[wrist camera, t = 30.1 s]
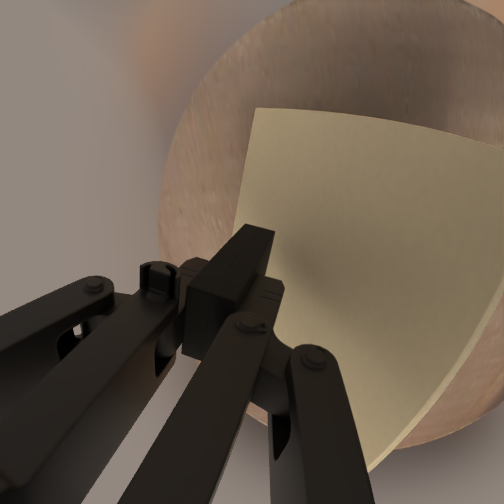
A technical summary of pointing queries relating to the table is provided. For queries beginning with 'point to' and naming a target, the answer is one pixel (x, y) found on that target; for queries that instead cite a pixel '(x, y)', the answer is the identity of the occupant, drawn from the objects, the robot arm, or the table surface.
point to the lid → (378, 253)
